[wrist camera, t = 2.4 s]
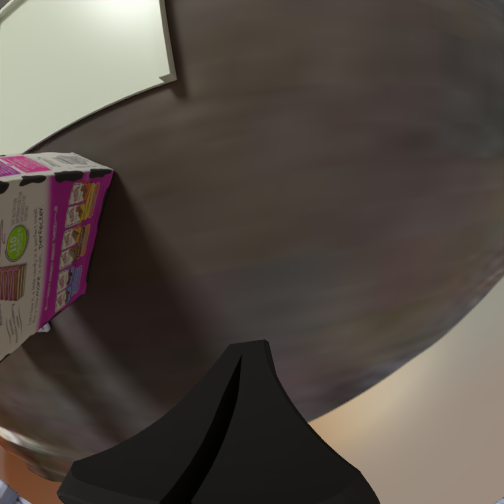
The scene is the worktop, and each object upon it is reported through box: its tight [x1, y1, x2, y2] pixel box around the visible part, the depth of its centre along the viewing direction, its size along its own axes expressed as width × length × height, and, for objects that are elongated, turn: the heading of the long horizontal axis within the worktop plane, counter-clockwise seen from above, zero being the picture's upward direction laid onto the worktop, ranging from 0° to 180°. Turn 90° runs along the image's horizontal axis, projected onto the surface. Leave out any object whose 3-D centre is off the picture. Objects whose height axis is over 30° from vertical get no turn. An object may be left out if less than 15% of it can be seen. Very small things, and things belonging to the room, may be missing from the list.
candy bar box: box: [0, 152, 114, 363], centre depth 12 cm, size 11×5×16 cm, turn 156°
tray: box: [0, 0, 177, 155], centre depth 14 cm, size 22×22×2 cm
